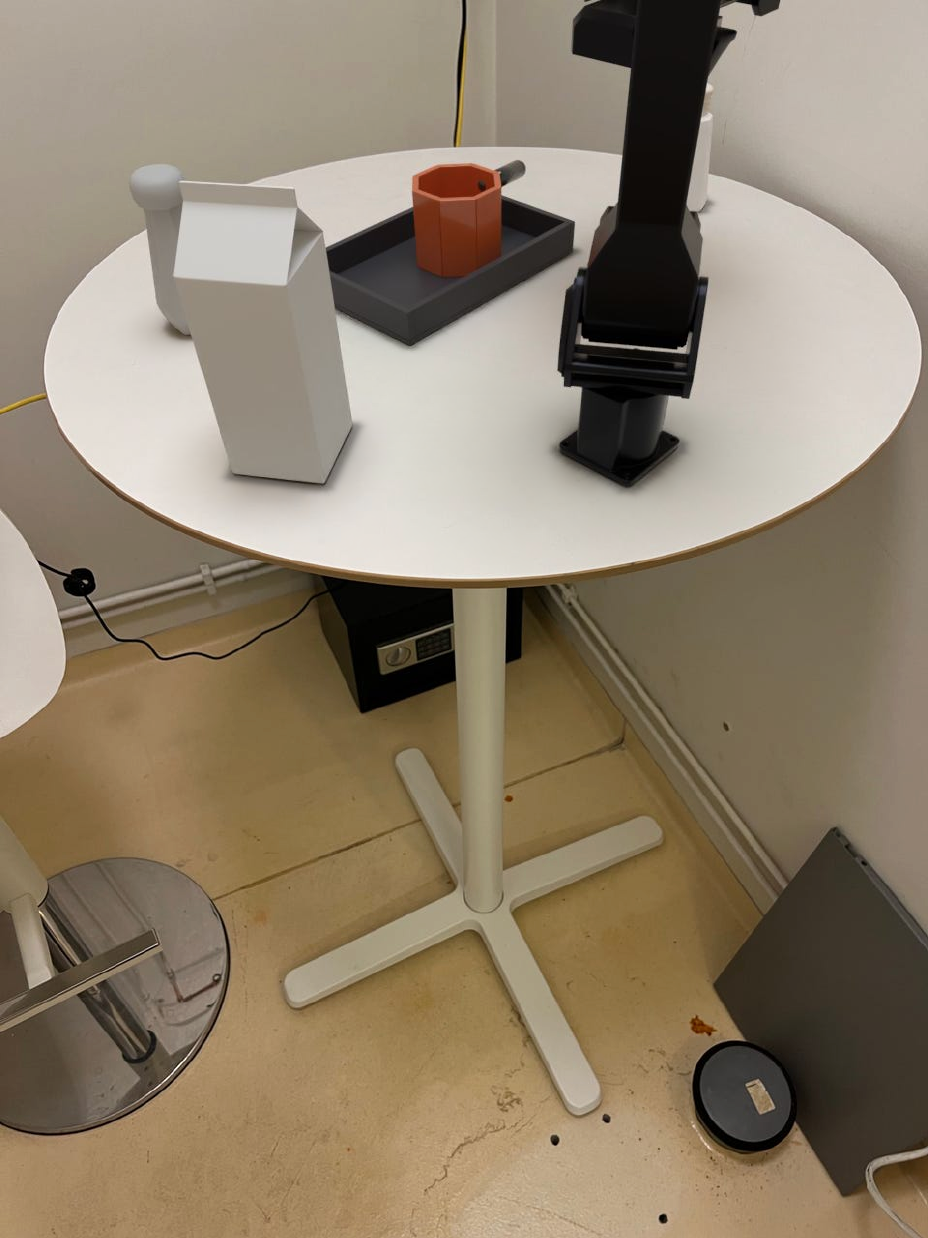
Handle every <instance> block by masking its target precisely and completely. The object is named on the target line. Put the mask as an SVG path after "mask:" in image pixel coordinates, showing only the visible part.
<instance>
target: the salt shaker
mask: <svg viewBox="0 0 928 1238" xmlns="http://www.w3.org/2000/svg"><path fill="white" fill-rule="evenodd" d="M179 181H186V179H185V176H184V174H183V172H181V170H180V169H179V168H177V167H176V166H174V165H171V164H168V163H167V164H166V163H156V164H148V165H145V166H142V167H139V168H137V169H136V170H134V171H133V172H132V174H131V176H130V178H129V180H128V185H129V192H130V194H131V196H132V197H131V198H132V200H133V201H134V202H135V203H136V205H137V206H138V207H139V208H142V209H143V214H144V222H145V228H146V235H147V242H148V250H149V257H150V264H151V265H150V266H151V273H152V279H153V280H152V281H153V287H154V294H155V301H156V305H157V307H158V309H159V311H160V312H161V314H162V315H163V316H164V318H166V319H167V321H168V322H169V323H170V324H171V325H172V327H173V328H174V329H176V331H178V332H180V333H181V334H182V335H184V336H191V333H190V329H189V326H188V323H187V319H186V316H185V313H184V309H183V306H182V302H181V299H180V296H179V292H178V289H177V286H176V282H175V279H174V277H173V274H174V266H175V259H176V251H177V243H178V236H179V228H180V221H181V213H182V206H183V198H182V194H181V191H180V187H179Z"/></svg>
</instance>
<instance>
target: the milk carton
mask: <svg viewBox="0 0 928 1238" xmlns="http://www.w3.org/2000/svg"><path fill="white" fill-rule="evenodd" d="M179 187H180V191H181V194H182V198H183V202H182V203H183V206H182V213H181V221H180V228H179V236H178V243H177V251H176V259H175V266H174V274H173V277H174V279H175V282H176V286H177V289H178V292H179V296H180V299H181V302H182V306H183V309H184V313H185V316H186V319H187V323H188V326H189V329H190V333H191V335H190V336H191V340H192V342H193V346H194V349H195V352H196V355H197V359H198V362H199V366H200V370H201V373H202V377H203V379H204V380H203V381H204V383H205V386H206V391H207V393H208V396H209V399H210V403H211V407H212V411H213V413H214V417H215V419H216V420H215V421H216V424H217V426H218V429H219V433H220V436H221V440H222V443H223V447H224V450H225V454H226V457H227V461H228V463H229V467H230V470H231V472H232V473H233V474H236V475H242V476H243V475H244V476H252V477H261V478H270V479H278V480H288V481H296V482H305V483H314V484H325V482H326V481H327V479H328V476H329V475H330V472H331V471H332V468H333V466H334V464H335V462H336V460H337V458H338V456H339V453H340V451H341V450H342V447H343V446H344V443H345V442H346V440H347V436H349V433H350V431H351V429H352V428H353V427H352V426H353V419H352V411H351V405H350V404H351V403H350V398H349V393H348V386H347V377H346V373H345V367H344V360H343V353H342V346H341V339H340V333H339V326H338V320H337V313H336V308H335V306H334V300H333V293H332V287H331V280H330V274H329V267H328V261H327V254H326V242H325V237H324V230H323V229H322V228H321V227H320V226H319V225H318V224H317V223H316V222H315V221H313V220H312V219H311V217H309V216H308V215H307V214H306V213H305V212H304V211H303V210H302V209H301V208H300V207H299V206H298V202H297V201H298V200H297V195H296V189H295V187H293V186H280V185H265V184H264V185H263V184H244V183H230V182H229V183H228V182H227V183H226V182H212V181H211V182H210V181H192V180H190V181H189V180H185V181H179Z"/></svg>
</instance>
